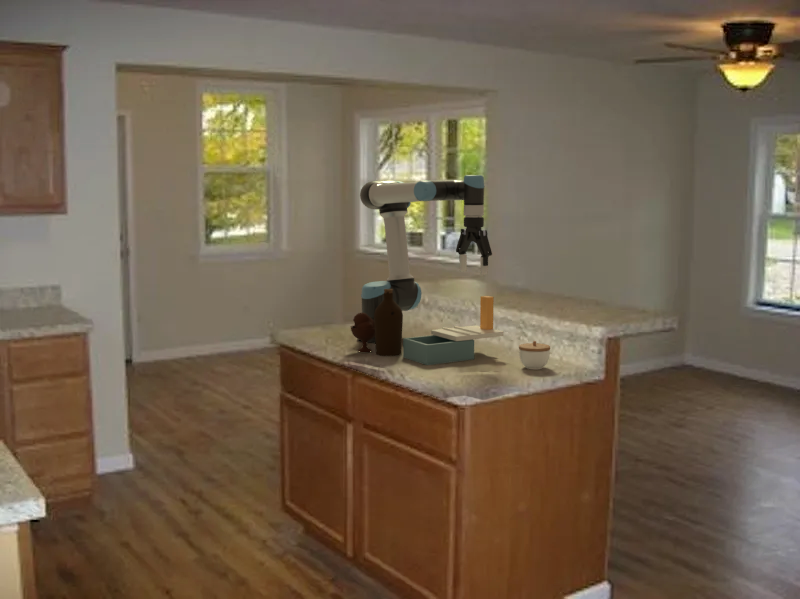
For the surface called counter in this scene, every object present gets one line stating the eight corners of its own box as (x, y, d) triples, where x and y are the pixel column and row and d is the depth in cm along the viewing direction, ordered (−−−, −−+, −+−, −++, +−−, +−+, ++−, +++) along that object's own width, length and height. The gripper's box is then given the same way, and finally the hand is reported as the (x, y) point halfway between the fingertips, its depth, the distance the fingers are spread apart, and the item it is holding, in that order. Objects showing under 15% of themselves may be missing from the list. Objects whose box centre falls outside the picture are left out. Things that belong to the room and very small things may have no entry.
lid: (431, 334, 330) (431, 297, 328) (477, 329, 340) (477, 293, 339) (456, 341, 316) (456, 302, 314) (503, 335, 326) (503, 298, 324)
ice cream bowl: (375, 354, 335) (375, 314, 333) (347, 353, 338) (346, 314, 336) (382, 349, 346) (381, 310, 344) (354, 348, 348) (353, 310, 346)
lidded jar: (531, 363, 319) (532, 337, 317) (556, 367, 311) (556, 341, 310) (512, 367, 311) (512, 341, 310) (536, 372, 304) (537, 345, 302)
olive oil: (408, 355, 333) (408, 288, 329) (389, 360, 325) (389, 291, 321) (387, 352, 339) (387, 286, 336) (368, 356, 331) (367, 289, 328)
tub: (403, 360, 325) (403, 338, 324) (449, 354, 335) (449, 333, 334) (426, 367, 311) (426, 345, 310) (474, 361, 321) (474, 339, 320)
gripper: (501, 217, 327) (501, 275, 330) (463, 215, 348) (462, 269, 351) (485, 217, 323) (484, 276, 326) (447, 215, 345) (446, 270, 348)
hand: (473, 273), depth 339 cm, fingers open, 13 cm apart
